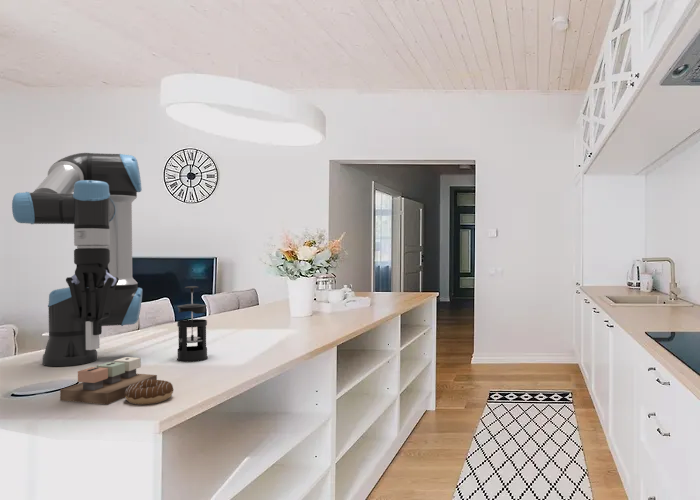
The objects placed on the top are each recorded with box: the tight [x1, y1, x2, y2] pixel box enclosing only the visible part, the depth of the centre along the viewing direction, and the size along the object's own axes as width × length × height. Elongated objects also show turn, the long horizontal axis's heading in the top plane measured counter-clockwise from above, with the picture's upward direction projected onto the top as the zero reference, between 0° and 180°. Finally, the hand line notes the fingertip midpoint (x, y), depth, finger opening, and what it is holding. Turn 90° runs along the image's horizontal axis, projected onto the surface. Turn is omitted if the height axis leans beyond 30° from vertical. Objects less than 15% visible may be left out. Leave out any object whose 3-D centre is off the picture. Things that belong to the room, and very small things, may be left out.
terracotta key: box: [77, 366, 108, 383], centre depth 125 cm, size 4×4×3 cm
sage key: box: [96, 361, 125, 377], centre depth 131 cm, size 4×4×3 cm
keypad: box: [59, 369, 158, 406], centre depth 131 cm, size 13×18×4 cm
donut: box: [124, 379, 174, 406], centre depth 125 cm, size 11×11×4 cm
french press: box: [176, 285, 209, 363], centre depth 170 cm, size 12×9×23 cm
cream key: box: [113, 356, 142, 371], centre depth 137 cm, size 4×4×3 cm
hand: (92, 348), depth 125 cm, fingers closed
